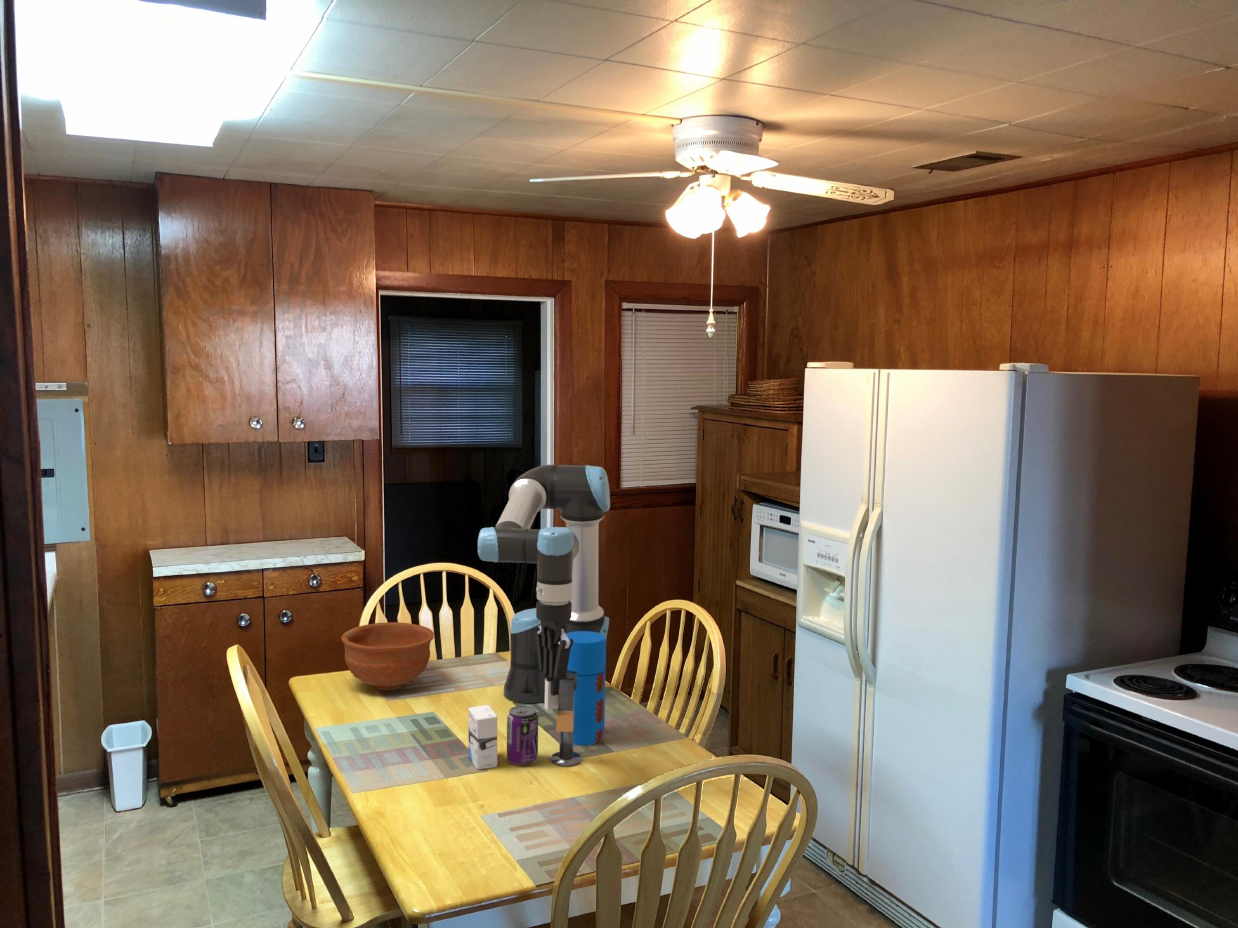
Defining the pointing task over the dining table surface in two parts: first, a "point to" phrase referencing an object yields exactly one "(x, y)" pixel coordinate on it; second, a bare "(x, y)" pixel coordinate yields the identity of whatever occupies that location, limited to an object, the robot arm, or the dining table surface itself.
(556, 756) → the post
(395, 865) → the dining table surface
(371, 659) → the bowl
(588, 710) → the thermos
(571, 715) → the swing bar
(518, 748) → the beverage can
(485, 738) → the ink box
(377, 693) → the dining table surface
